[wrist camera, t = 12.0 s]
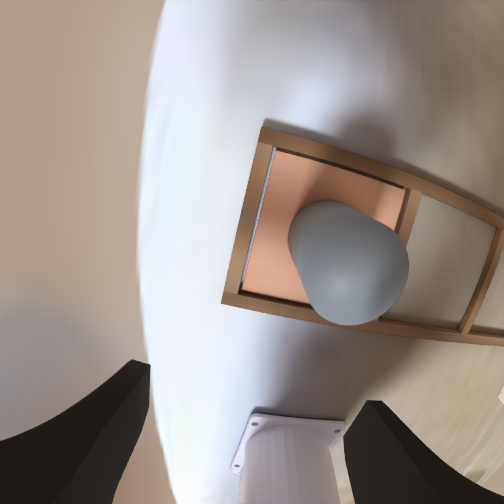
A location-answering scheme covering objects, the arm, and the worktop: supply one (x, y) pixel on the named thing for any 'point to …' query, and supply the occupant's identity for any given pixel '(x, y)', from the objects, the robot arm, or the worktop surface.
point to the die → (501, 396)
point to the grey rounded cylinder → (347, 262)
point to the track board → (353, 194)
